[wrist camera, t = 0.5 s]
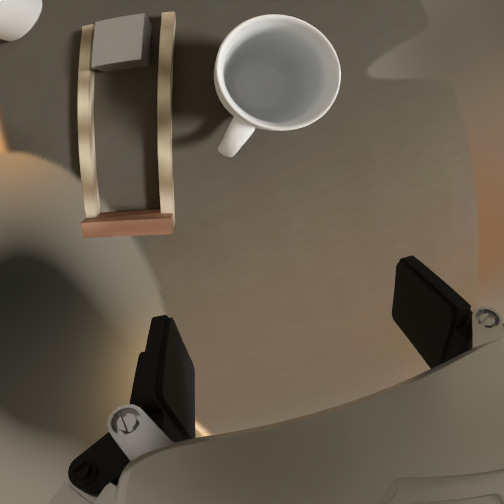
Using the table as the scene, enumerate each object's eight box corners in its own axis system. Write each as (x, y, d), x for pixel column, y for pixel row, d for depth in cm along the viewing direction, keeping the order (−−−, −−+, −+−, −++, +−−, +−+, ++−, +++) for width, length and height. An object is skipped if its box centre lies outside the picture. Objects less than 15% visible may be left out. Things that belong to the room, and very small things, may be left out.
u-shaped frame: (88, 30, 26) (76, 22, 22) (175, 16, 27) (172, 5, 24) (93, 227, 37) (83, 237, 34) (175, 223, 39) (171, 233, 35)
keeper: (108, 32, 27) (95, 22, 22) (152, 25, 27) (144, 13, 23) (105, 72, 29) (91, 67, 25) (149, 66, 30) (141, 59, 25)
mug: (260, 168, 37) (284, 192, 26) (182, 131, 34) (168, 136, 22) (314, 73, 33) (361, 57, 21) (239, 32, 29) (255, -7, 18)
